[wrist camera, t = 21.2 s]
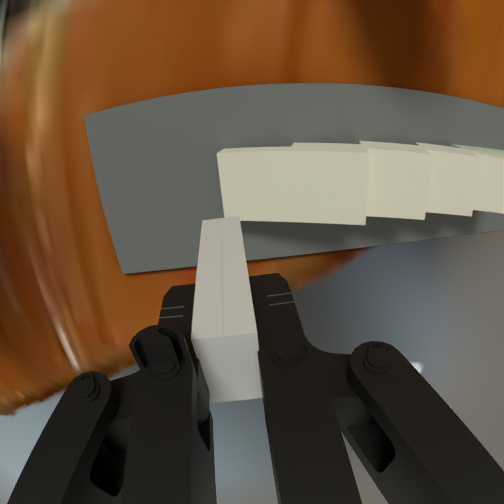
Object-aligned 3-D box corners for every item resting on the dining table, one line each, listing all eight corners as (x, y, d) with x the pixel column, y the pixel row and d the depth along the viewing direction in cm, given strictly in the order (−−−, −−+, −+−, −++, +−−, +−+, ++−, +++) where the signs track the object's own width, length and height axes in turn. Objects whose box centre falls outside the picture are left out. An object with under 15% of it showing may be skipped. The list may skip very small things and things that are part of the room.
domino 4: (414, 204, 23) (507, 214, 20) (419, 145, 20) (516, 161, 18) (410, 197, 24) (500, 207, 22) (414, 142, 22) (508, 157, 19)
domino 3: (358, 207, 23) (471, 216, 20) (360, 144, 20) (480, 157, 18) (357, 200, 24) (464, 209, 22) (358, 140, 22) (472, 152, 19)
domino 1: (224, 220, 22) (365, 225, 20) (216, 153, 20) (369, 153, 18) (231, 211, 24) (363, 216, 21) (224, 148, 21) (366, 148, 19)
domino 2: (293, 213, 23) (424, 219, 20) (290, 146, 20) (431, 154, 18) (295, 205, 24) (419, 211, 22) (293, 142, 22) (425, 149, 19)
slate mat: (124, 270, 26) (122, 273, 26) (86, 115, 19) (83, 115, 19) (503, 227, 28) (506, 229, 27) (519, 113, 21) (522, 114, 20)
